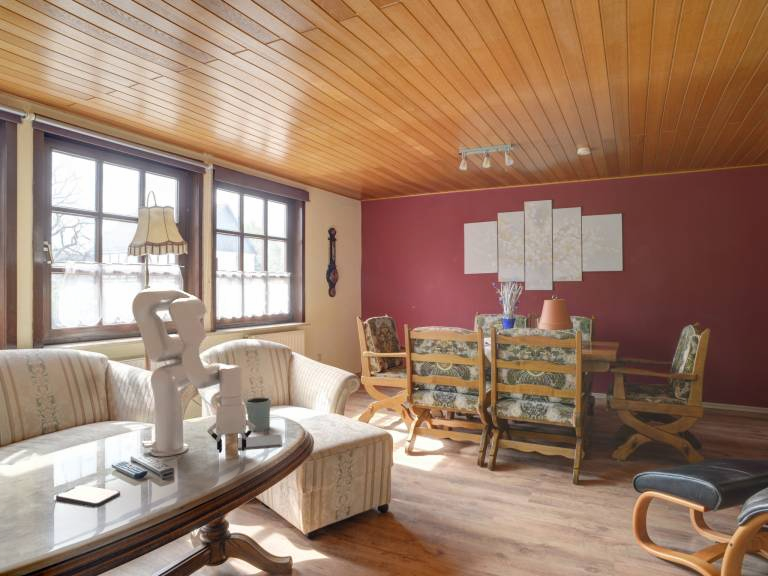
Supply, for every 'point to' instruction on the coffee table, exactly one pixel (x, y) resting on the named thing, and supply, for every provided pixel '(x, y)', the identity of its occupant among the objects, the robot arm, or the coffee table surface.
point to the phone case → (87, 495)
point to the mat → (261, 441)
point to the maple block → (231, 446)
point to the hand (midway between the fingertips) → (231, 450)
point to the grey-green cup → (259, 412)
